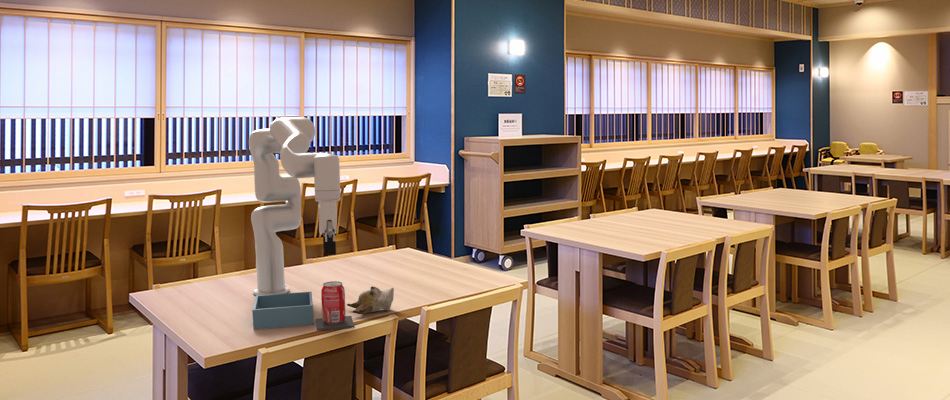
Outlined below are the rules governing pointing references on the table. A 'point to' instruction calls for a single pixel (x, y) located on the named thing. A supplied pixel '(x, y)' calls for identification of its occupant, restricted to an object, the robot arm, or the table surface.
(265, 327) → the open box
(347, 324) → the gray square plate
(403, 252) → the table surface
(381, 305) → the ceramic sculpture
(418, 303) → the table surface
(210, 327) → the table surface
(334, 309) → the soda can
